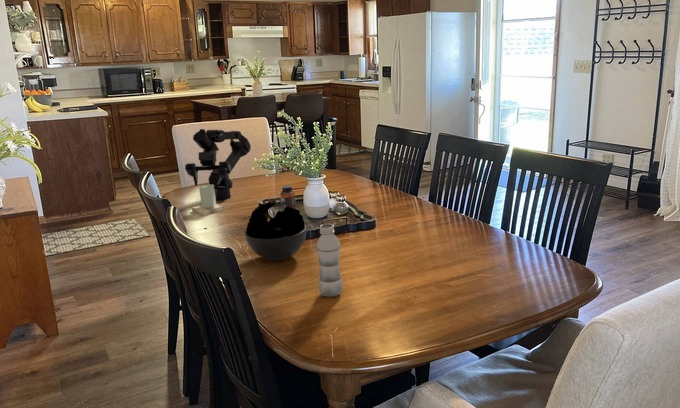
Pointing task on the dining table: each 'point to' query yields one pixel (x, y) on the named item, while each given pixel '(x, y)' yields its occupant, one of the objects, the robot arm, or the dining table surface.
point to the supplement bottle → (288, 197)
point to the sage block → (207, 196)
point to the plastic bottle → (329, 262)
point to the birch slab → (207, 210)
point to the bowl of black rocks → (275, 232)
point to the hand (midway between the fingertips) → (206, 185)
